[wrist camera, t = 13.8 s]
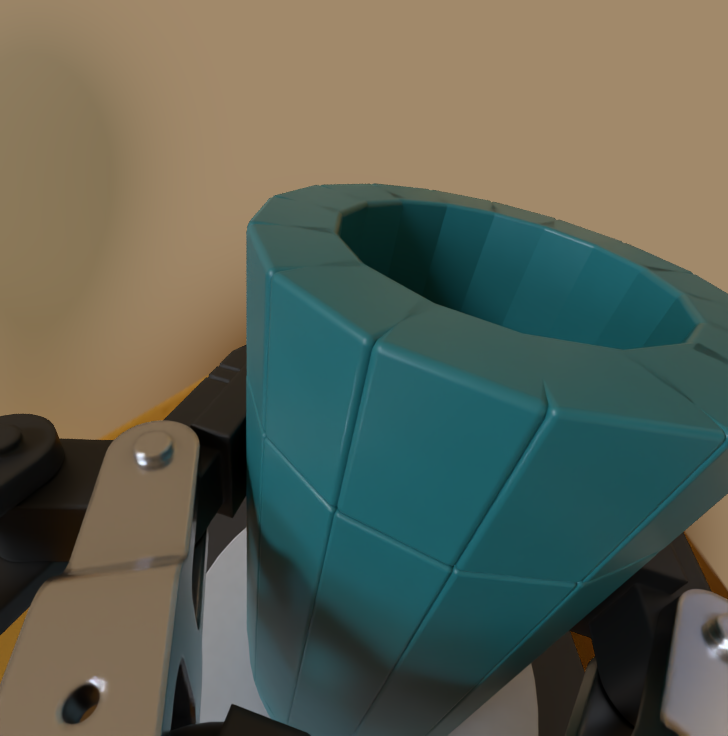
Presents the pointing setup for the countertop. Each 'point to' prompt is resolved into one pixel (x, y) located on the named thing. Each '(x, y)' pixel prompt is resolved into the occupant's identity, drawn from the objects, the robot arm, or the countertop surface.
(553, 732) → the scale
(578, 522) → the jar
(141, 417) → the countertop surface
